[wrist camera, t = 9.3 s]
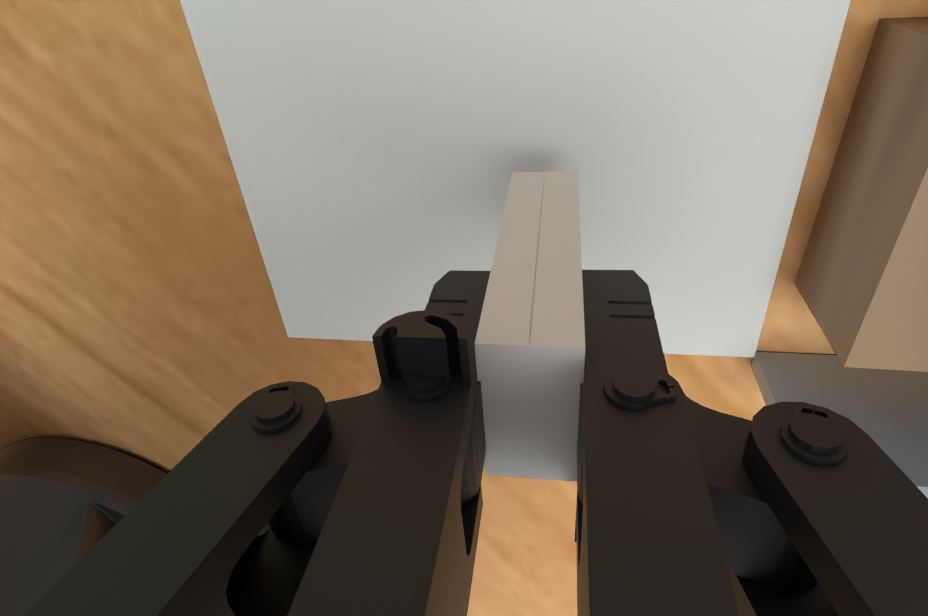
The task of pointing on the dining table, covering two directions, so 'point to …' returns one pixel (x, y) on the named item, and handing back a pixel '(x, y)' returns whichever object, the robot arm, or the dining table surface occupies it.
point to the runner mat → (518, 144)
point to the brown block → (877, 213)
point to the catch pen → (857, 401)
